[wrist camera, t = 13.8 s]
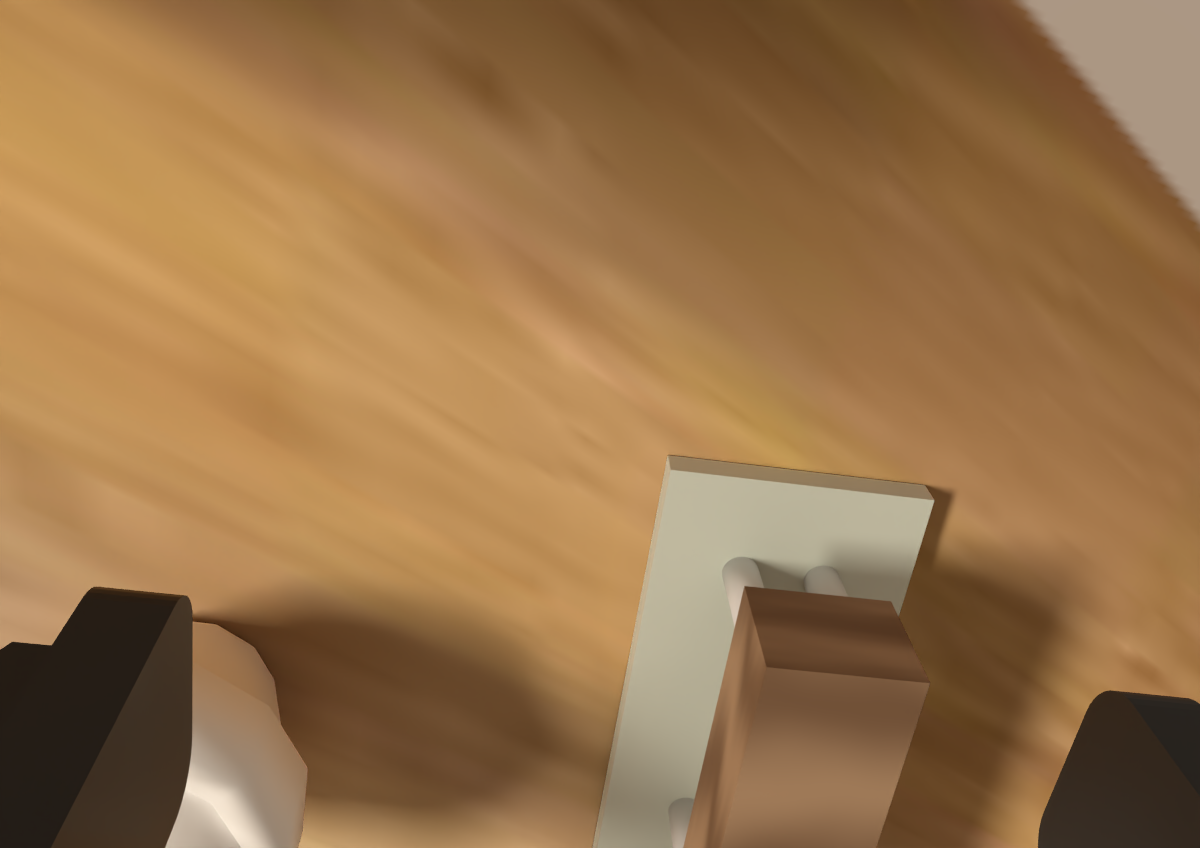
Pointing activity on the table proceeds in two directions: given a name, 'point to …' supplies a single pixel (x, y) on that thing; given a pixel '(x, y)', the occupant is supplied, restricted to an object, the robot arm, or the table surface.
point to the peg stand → (733, 610)
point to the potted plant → (238, 753)
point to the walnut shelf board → (808, 724)
